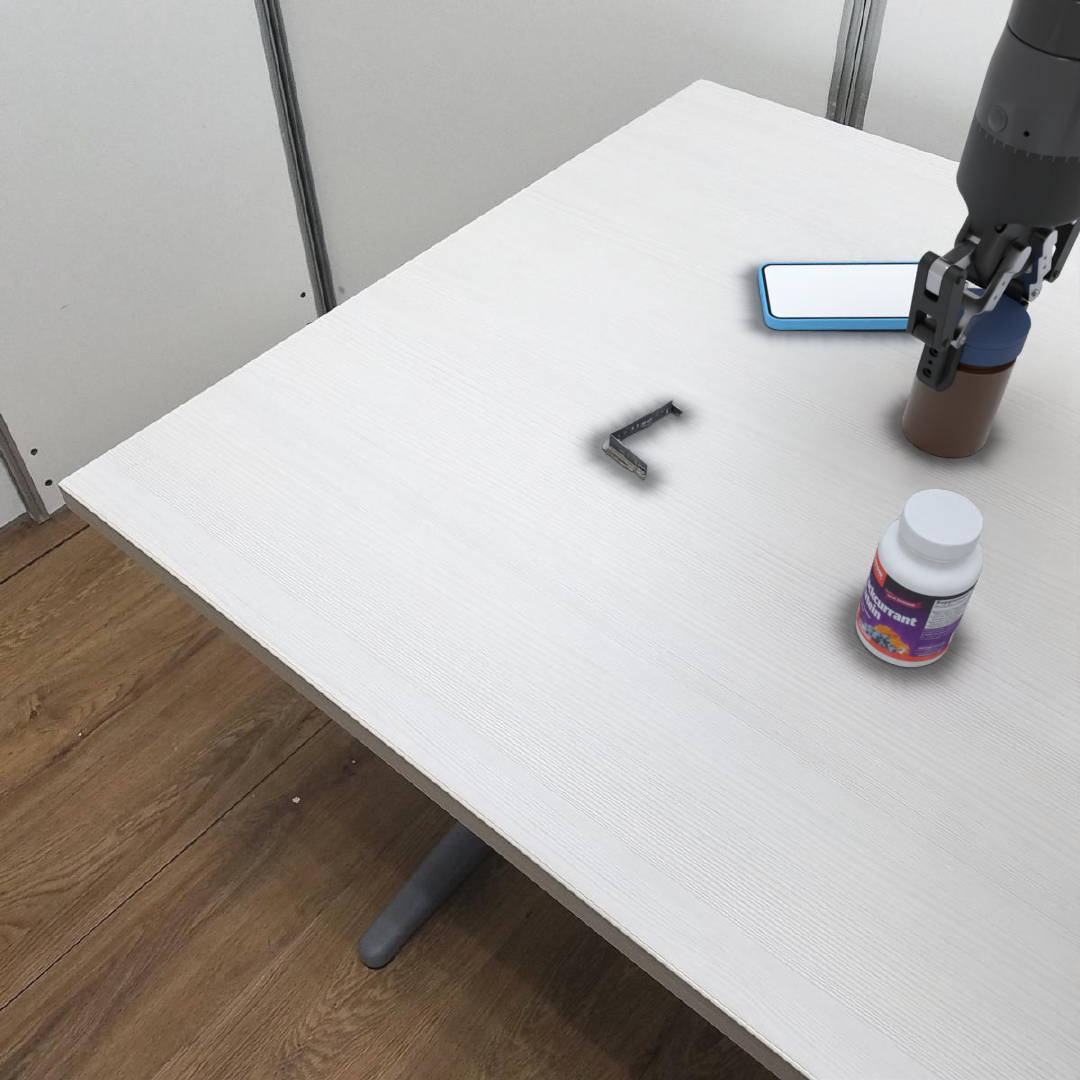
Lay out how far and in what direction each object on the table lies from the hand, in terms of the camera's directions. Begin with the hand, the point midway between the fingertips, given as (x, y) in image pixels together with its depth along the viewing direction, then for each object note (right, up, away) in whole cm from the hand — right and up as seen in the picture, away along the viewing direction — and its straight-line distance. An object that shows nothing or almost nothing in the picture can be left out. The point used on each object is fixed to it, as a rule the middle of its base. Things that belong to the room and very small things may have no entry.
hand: (964, 362), depth 74 cm
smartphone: (-3, +7, +14) cm, 16 cm away
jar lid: (0, +2, -3) cm, 3 cm away
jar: (0, -4, +4) cm, 6 cm away
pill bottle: (-6, -17, -8) cm, 19 cm away
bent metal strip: (-20, -5, +4) cm, 21 cm away
